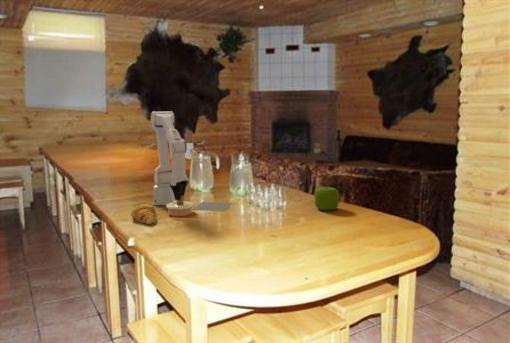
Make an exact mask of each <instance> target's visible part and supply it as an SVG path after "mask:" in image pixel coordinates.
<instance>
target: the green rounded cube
mask: <svg viewBox="0 0 510 343" xmlns="http://www.w3.org/2000/svg"><path fill="white" fill-rule="evenodd" d="M339 193H340V192H339V190H338V189H336V188H335V187H332V186H331V187H330V186H328V185H327V186H319V187H318V188H316V189H315V191H314V205H315V207H316V208H317V209H318V210H319V209H320V210H319V211H322V210H324V211H323V212H330V210H331V211H333V210H335V209H337V208H338V207H339V203H340V202H339V201H340V194H339Z"/></svg>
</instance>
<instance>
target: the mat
mask: <svg viewBox="0 0 510 343" xmlns="http://www.w3.org/2000/svg"><path fill="white" fill-rule="evenodd" d="M232 204H233V202H218V201H217V202H214V201H202V202H200V203H198V205H196V206H194V207H193V208H192V211H193V210H194V211H195V210H196V211H199V210H200V211H218V212H225V211H226V210H227V209H228V208H229V207H230V206H231V205H232Z"/></svg>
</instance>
